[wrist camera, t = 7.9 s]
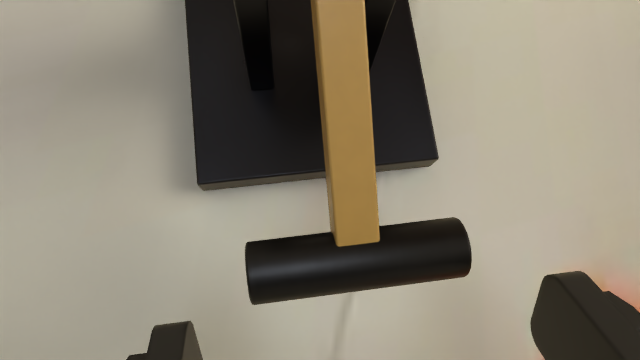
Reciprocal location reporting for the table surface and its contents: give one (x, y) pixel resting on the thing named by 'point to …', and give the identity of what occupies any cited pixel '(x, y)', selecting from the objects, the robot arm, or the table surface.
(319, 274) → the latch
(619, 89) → the table surface
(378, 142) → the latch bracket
